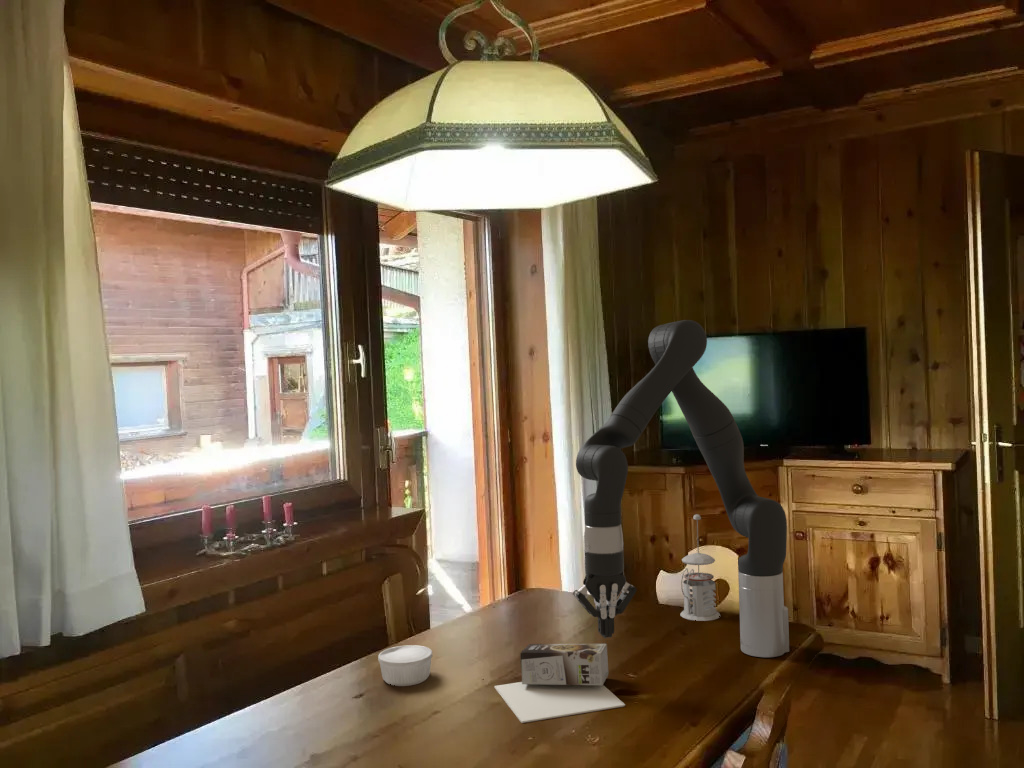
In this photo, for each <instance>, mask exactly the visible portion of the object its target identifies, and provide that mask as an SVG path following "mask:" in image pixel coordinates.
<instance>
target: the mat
mask: <svg viewBox="0 0 1024 768" xmlns="http://www.w3.org/2000/svg"><path fill="white" fill-rule="evenodd" d="M493 687H494V689H495V690H496V692H497V693H498V694H499V695H500V696H501V698H502V699H503V701H504V702H505V704H506V705H507V706H508V708H509V709H510V710H511V711H512V712H513V714H514V715H515V716H516V718H517V720H519V722H520V723H521V724H524V723H531V722H537V721H542V720H549V719H555V718H561V717H568V716H573V715H580V714H584V713H585V714H586V713H592V712H598V711H603V710H609V709H616V708H623V707H625V706H626V704H625V703H624V702H623V701H622V700H620V698H618V697H617V696H616V695H615V693H613V692H612V691H611V690H610V689H609V688H607V687H606V686H605V685H604V684H603V685H602V686H600V685H534V684H522V681H519V682H511V683H506V684H499V685H494V686H493Z"/></svg>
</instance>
